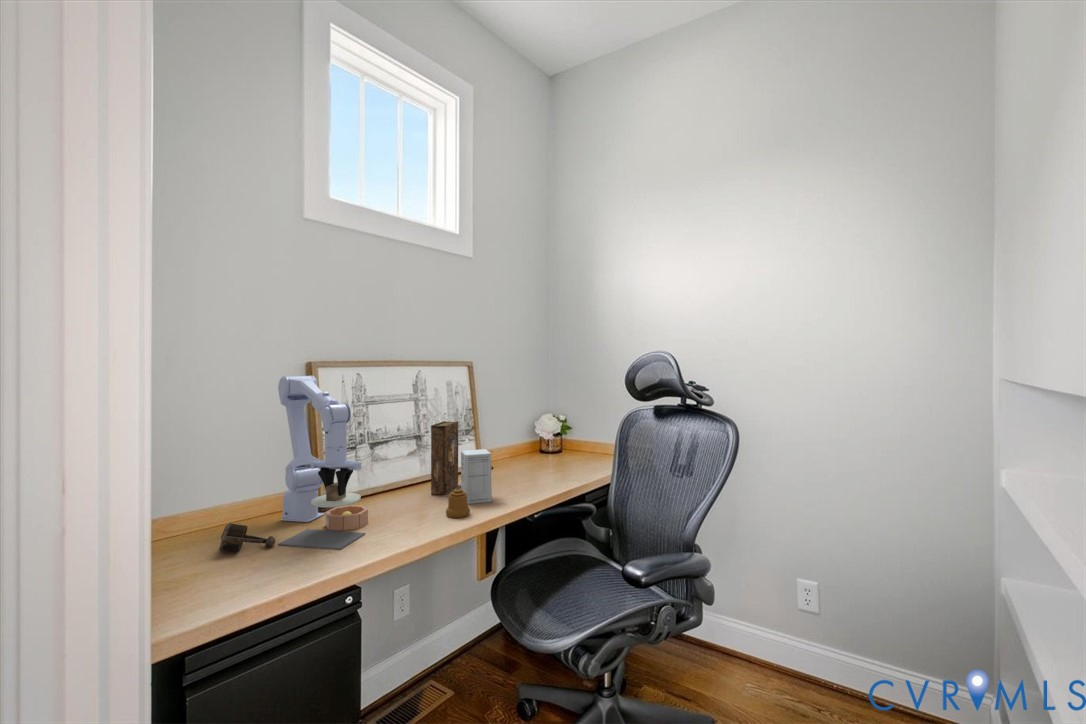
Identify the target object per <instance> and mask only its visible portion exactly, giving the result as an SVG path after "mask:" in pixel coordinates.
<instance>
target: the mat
mask: <svg viewBox="0 0 1086 724" xmlns="http://www.w3.org/2000/svg"><path fill="white" fill-rule="evenodd" d="M365 535H366V532H357V531H346V530H345V531H344V530H343V531H338V530H329V529H327V530H326V529H314V528H306V529H305V530H303V531H300V532H298V533H296V534H294V535H292V536H290V537H287V539H284V540H282V541H281V542H278V543H277V545H278V546H283V547H297V548H299V547H300V548H308V549H309V548H310V549H320V550H321V549H323V550H336V551H340V550H341V551H342V550H343V549H345V548H346V547H347V546H349V545H350V544H353V543H354V542H355V541H358V540H359V539H360V538H362V537H363V536H365Z"/></svg>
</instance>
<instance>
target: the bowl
mask: <svg viewBox="0 0 1086 724" xmlns="http://www.w3.org/2000/svg"><path fill="white" fill-rule="evenodd" d="M368 523H369V509H368V508H367V507H365V506H364V505H353V504H350V505H346V506H341V507H332V508H331V509H329V510H326V511H325V527H326V528H327V530H331V531H345V532H346V531H350V530H355V529H360V528H362V527H364V526H365V525H367V524H368Z"/></svg>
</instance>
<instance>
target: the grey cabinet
mask: <svg viewBox="0 0 1086 724" xmlns="http://www.w3.org/2000/svg"><path fill="white" fill-rule="evenodd" d="M460 486H461V487H460V489H462V490H463V491H464V492H465V493H466V494H467V504H468V505H470V504H471V505H472V504H482V503H483V504H484V503H491V502H492V500H493V499H492V453H491V452H490V451H488V450H487V449H486V448H484V449H469V450H468V449H467V450H461V451H460Z"/></svg>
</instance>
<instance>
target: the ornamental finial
mask: <svg viewBox="0 0 1086 724" xmlns="http://www.w3.org/2000/svg"><path fill="white" fill-rule="evenodd" d="M447 504H448V507H447V508H446V510H445V514H446V516H447V517H448V518H450V517H451V518H450V519H461V517H463V518H466V517H468V516H469V515H470V512H471V509H470V507H469V504H467V494H466V493H465V492H464V491H463V490H462V489H461V488H454V489H453V491H450V493H449V494H448V503H447Z"/></svg>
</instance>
